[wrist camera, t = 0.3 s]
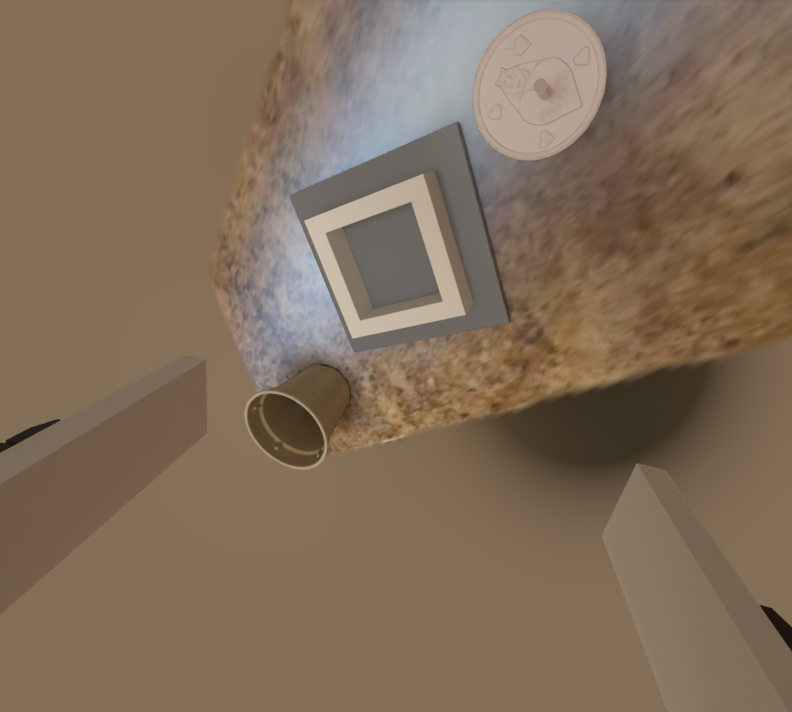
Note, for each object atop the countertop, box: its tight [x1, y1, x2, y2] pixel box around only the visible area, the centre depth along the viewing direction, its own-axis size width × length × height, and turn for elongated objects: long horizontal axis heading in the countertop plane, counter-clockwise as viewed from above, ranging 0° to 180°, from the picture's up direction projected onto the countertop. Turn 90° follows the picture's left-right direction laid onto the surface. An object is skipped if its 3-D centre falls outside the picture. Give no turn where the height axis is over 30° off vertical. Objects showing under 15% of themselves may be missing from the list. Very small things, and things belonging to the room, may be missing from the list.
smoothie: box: [473, 9, 607, 161], centre depth 23 cm, size 6×6×14 cm
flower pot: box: [244, 364, 350, 470], centre depth 44 cm, size 9×9×9 cm
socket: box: [290, 122, 511, 352], centre depth 35 cm, size 16×16×4 cm
